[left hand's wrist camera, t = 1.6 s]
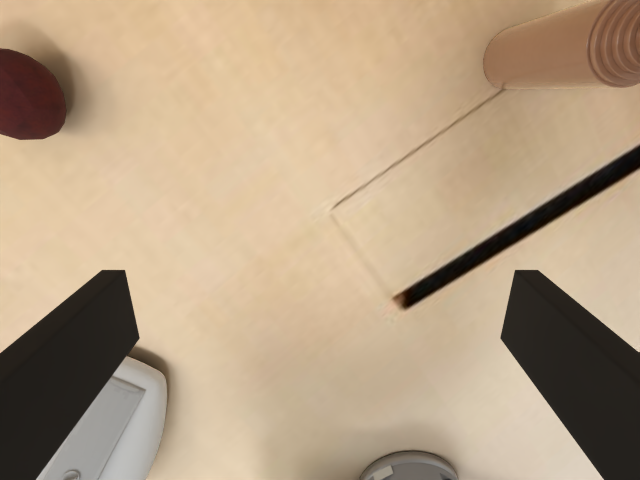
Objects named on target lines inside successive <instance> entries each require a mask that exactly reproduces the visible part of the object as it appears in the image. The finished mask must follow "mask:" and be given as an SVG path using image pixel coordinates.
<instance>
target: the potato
mask: <svg viewBox="0 0 640 480" xmlns="http://www.w3.org/2000/svg"><path fill="white" fill-rule="evenodd" d="M65 116H66V106H65V100H64V95H63V92H62V90H61V88H60V86H59V84H58V82H57V80H56V78H55V76H54V75H53V74H52V73H51V72H50V71H49V70H48V69H47V68H46V67H45V66H43V65H42V64H40V63H39V62H37V61H35V60H34V59H32V58H31V57H29V56H27V55H25V54H22V53H19V52H17V51H13V50H9V49H0V134H2V135H6V136H9V137H12V138H16V139H19V140H30V139H45V138H47V137H49V136H51V135H54V134H56V133H58V132H59V131H60V129H61V128H62V126H63V124H64V123H65Z"/></svg>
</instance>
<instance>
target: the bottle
mask: <svg viewBox="0 0 640 480" xmlns="http://www.w3.org/2000/svg"><path fill="white" fill-rule="evenodd" d="M483 68H484V72H485V75H486V77H487V79H488V80H489V82H490V83H491V84H492V85H494V86H495V87H497V88H500V89H571V88H624V87H630V86H633V85H636V84H639V83H640V0H590V1H587V2H584V3H581V4H579V5H576V6H573V7H570V8H567V9H564V10H561V11H558V12H555V13H552V14H549V15H546V16H543V17H540V18H537V19H534V20H531V21H528V22H525V23H522V24H519V25H517V26H514V27H511V28H508V29H505V30H503V31H502V32H500V33H499V34H498V35H496V36H495V37H494V38H493V39H492V41H491V42H490V44H489V45H488V47H487V49H486V52H485V55H484V61H483Z"/></svg>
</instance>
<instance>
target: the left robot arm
mask: <svg viewBox="0 0 640 480" xmlns="http://www.w3.org/2000/svg"><path fill="white" fill-rule="evenodd" d="M138 340H139V333H138V329H137V324H136V319H135V315H134V310H133V305H132V301H131V296H130V291H129V287H128V282H127V277H126V273H125V270H102V271H100V272H99V273H98V274H97V275H96V276H94V277H93V278H92V279H91V280H89V281H88V282H87V283H86V284H85V285H83V286H82V287H81V288H80V289H78V290H77V291H76V292H75V293H73V294H72V295H71V296H70V297H69V298H67V299H66V300H65V301H64V302H62V303H61V304H60V305H59V306H58V307H56V308H55V309H54V310H53V311H51V312H50V313H49V314H48V315H47V316H45V317H44V318H43V319H42V320H40V321H39V322H38V323H37V324H36V325H34V326H33V327H32V328H31V329H29V330H28V331H27V332H26V333H25V334H23V335H22V336H21V337H20V338H18V339H17V340H16V341H15V342H14V343H12V344H11V345H10V346H9V347H7V348H6V349H5V350H4V351H3V352H1V353H0V480H36V479H37V478H38V476H39V475H40V473H41V472H42V471H43V469H44V468H45V467H46V465H47V464H48V463H49V461H50V460H51V458H52V457H53V456H54V454H55V453H56V452H57V450H58V449H59V448H60V446H61V445H62V443H63V442H64V441H65V439H66V438H67V437H68V435H69V434H70V433H71V431H72V430H73V428H74V427H75V426H76V424H77V423H78V422H79V420H80V419H81V418H82V416H83V415H84V413H85V412H86V411H87V409H88V408H89V407H90V405H91V404H92V402H93V401H94V400H95V398H96V397H97V396H98V394H99V393H100V392H101V390H102V389H103V387H104V386H105V385H106V383H107V382H108V381H109V379H110V378H111V377H112V375H113V374H114V372H115V371H116V370H117V368H118V367H119V366H120V364H121V363H122V362H123V360H124V359H125V357H126V356H127V355H128V353H129V352H130V351H131V349H132V348H133V347H134V345H135V344H136V342H137V341H138ZM501 340H502V341H503V342H504V344H505V345H506V347H507V348H508V349H509V351H510V352H511V353H512V355H513V356H514V357H515V359H516V360H517V362H518V363H519V364H520V366H521V367H522V368H523V370H524V371H525V372H526V374H527V375H528V377H529V378H530V379H531V381H532V382H533V383H534V385H535V386H536V387H537V389H538V390H539V392H540V393H541V394H542V396H543V397H544V398H545V400H546V401H547V403H548V404H549V405H550V407H551V408H552V409H553V411H554V412H555V413H556V415H557V416H558V418H559V419H560V420H561V422H562V423H563V424H564V426H565V427H566V428H567V430H568V431H569V433H570V434H571V435H572V437H573V438H574V439H575V441H576V442H577V443H578V445H579V446H580V448H581V449H582V450H583V452H584V453H585V454H586V456H587V457H588V458H589V460H590V461H591V463H592V464H593V465H594V467H595V468H596V469H597V471H598V472H599V473H600V475H601V476H602V478H603V479H604V480H640V352H637V351H636V350H635V349H634V348H633V347H631V346H630V345H629V344H628V343H626V342H625V341H624V340H623V339H622V338H620V337H619V336H618V335H617V334H615V333H614V332H613V331H612V330H611V329H609V328H608V327H607V326H606V325H604V324H603V323H602V322H601V321H600V320H598V319H597V318H596V317H595V316H593V315H592V314H591V313H590V312H589V311H587V310H586V309H585V308H584V307H582V306H581V305H580V304H579V303H578V302H576V301H575V300H574V299H573V298H571V297H570V296H569V295H568V294H567V293H565V292H564V291H563V290H562V289H560V288H559V287H558V286H557V285H555V284H554V283H553V282H552V281H551V280H549V279H548V278H547V277H546V276H544V275H543V274H542V273H541V272H540V271H538V270H515V273H514V277H513V282H512V287H511V291H510V296H509V301H508V305H507V310H506V315H505V319H504V324H503V329H502V333H501ZM359 480H458V478H457V475H456V472H455V471H454V469H453V468H452V466H451V465H450V464H449V463H447V462H446V461H445V460H443V459H442V458H440V457H438V456H435V455H432V454H429V453H424V452H415V451H409V452H400V453H395V454H391V455H388V456H385V457H383V458H381V459H379V460H377V461H375V462H374V463H372V464H371V465H370V466H369V467H368V468H367V469H366V470H365V471H364V472H363V473H362V475H361V477H360V479H359Z"/></svg>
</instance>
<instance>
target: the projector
mask: <svg viewBox="0 0 640 480" xmlns="http://www.w3.org/2000/svg"><path fill="white" fill-rule="evenodd" d="M166 407H167V384H166V379H165V376H164V375H163V374H162V373H161V372H160V371H158V370H157V369H154V368H152V367H150V366H149V365H147V364H145V363H142V362H140V361H138V360H135V359H133V358H130V357H127V356H126V357H125V359H124V360H123V362H122V363H121V364H120V366H119V367H118V368H117V370H116V371H115V372H114V374H113V375H112V377H111V378H110V379H109V381H108V382H107V383H106V385H105V386H104V387H103V389H102V390H101V392H100V393H99V394H98V396H97V397H96V398H95V400H94V401H93V402H92V404H91V405H90V407H89V408H88V409H87V411H86V412H85V413H84V415H83V416H82V418H81V419H80V420H79V422H78V423H77V424H76V426H75V427H74V428H73V430H72V431H71V433H70V434H69V435H68V437H67V438H66V439H65V441H64V442H63V443H62V445H61V446H60V448H59V449H58V450H57V452H56V453H55V454H54V456H53V457H52V458H51V460H50V461H49V463H48V464H47V465H46V467H45V468H44V469H43V471H42V472H41V473H40V475H39V476H38V478H37V479H36V480H146V478H147V476H148V474H149V471H150V469H151V467H152V464H153V462H154V459H155V457H156V454H157V451H158V448H159V445H160V441H161V438H162V433H163V429H164V423H165V416H166Z"/></svg>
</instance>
